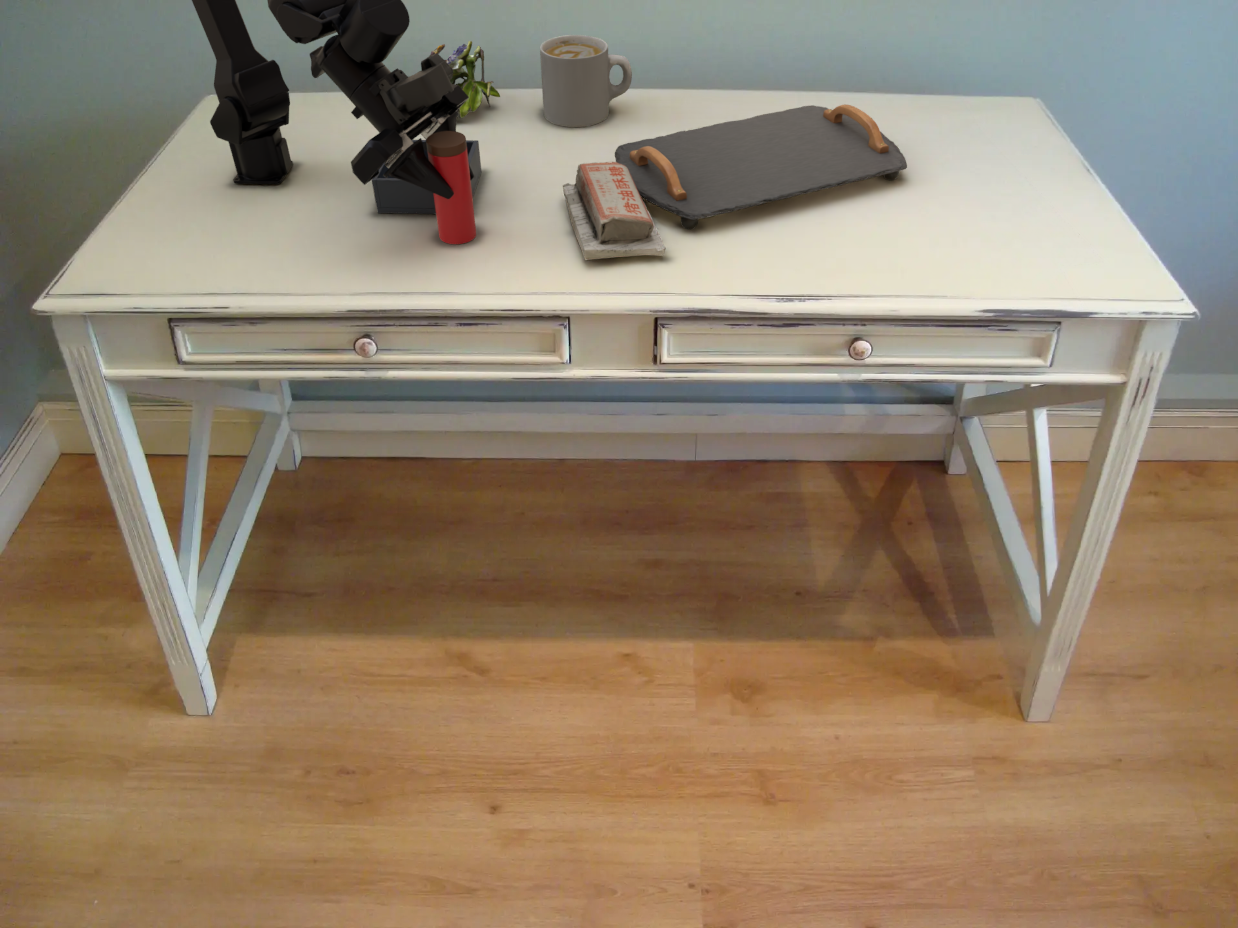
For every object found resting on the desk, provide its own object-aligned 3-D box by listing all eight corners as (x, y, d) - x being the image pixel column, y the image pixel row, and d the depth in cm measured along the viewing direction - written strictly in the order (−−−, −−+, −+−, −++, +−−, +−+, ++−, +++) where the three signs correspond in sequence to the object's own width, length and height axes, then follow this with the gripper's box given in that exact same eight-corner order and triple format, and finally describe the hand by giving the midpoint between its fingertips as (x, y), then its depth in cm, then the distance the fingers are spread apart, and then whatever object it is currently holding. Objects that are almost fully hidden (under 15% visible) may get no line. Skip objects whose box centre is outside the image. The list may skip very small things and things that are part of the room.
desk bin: (377, 213, 132) (371, 180, 129) (397, 171, 141) (392, 139, 138) (467, 214, 131) (463, 181, 128) (481, 172, 140) (478, 140, 137)
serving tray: (670, 244, 126) (671, 197, 122) (593, 168, 142) (592, 125, 137) (925, 181, 138) (934, 137, 134) (828, 118, 154) (834, 77, 150)
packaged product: (561, 159, 131) (637, 156, 132) (561, 194, 134) (635, 191, 136) (584, 225, 117) (668, 221, 119) (583, 262, 120) (665, 258, 122)
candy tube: (436, 244, 126) (422, 147, 117) (442, 226, 129) (430, 130, 121) (473, 245, 125) (462, 147, 117) (479, 226, 129) (468, 131, 121)
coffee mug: (541, 127, 152) (537, 58, 145) (546, 100, 159) (542, 34, 152) (631, 127, 151) (631, 59, 145) (632, 101, 159) (632, 35, 152)
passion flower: (446, 137, 162) (435, 60, 161) (512, 126, 160) (501, 47, 159) (422, 122, 151) (410, 39, 150) (493, 110, 149) (481, 25, 148)
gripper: (355, 68, 107) (459, 185, 111) (445, 13, 119) (536, 119, 123) (308, 129, 114) (407, 236, 118) (397, 72, 127) (484, 170, 131)
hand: (461, 188), depth 122 cm, fingers closed on candy tube, 4 cm apart
